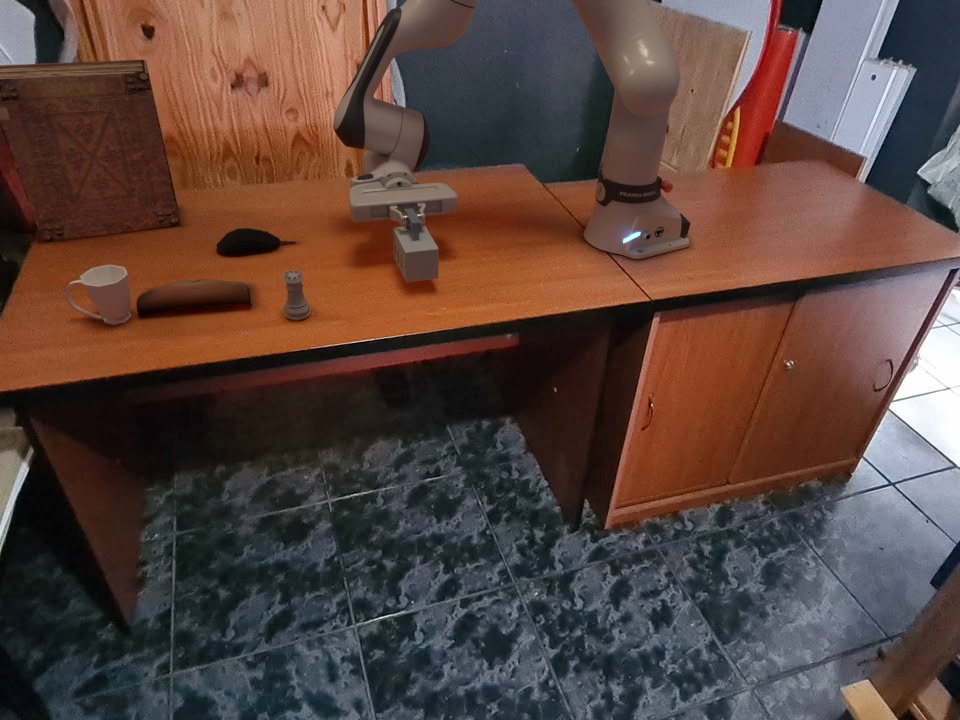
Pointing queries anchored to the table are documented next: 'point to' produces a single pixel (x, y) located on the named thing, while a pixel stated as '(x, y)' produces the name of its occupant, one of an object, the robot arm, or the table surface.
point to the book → (88, 147)
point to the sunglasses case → (194, 295)
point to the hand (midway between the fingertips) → (412, 220)
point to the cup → (105, 293)
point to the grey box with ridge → (415, 250)
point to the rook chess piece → (295, 297)
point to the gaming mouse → (248, 242)
